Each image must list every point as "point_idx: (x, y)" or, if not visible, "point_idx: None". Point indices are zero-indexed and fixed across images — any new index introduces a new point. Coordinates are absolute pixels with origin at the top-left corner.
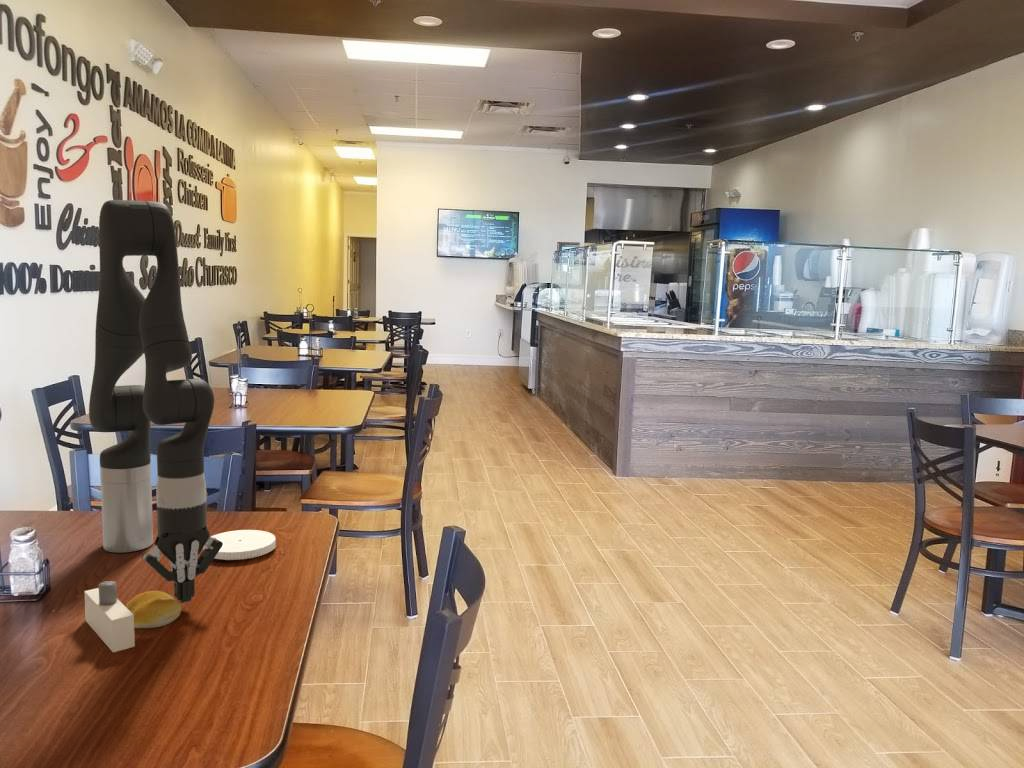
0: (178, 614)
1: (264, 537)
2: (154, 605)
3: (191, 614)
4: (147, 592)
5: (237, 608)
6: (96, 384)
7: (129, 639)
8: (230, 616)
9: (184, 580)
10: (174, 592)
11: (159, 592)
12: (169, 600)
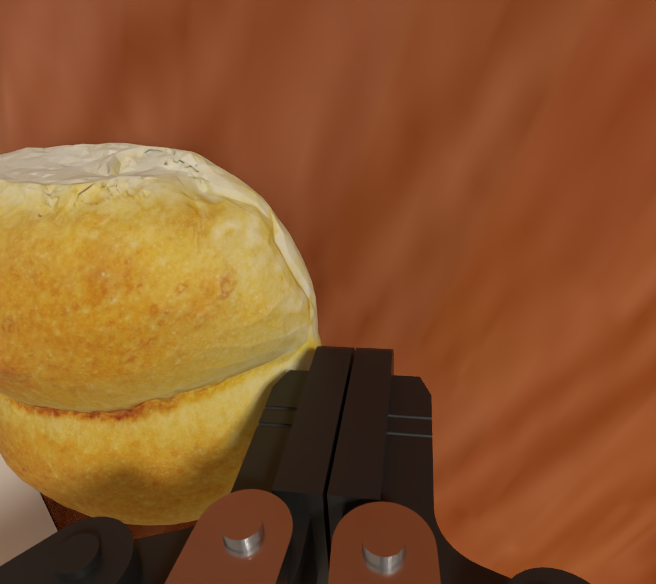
0: None
1: None
2: (92, 513)
3: None
4: (25, 352)
5: (635, 522)
6: None
7: None
8: (532, 567)
9: (321, 573)
10: (267, 409)
11: (142, 350)
12: (208, 472)
